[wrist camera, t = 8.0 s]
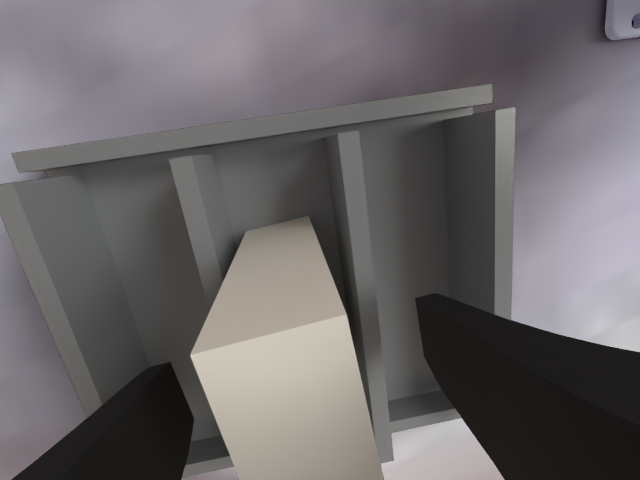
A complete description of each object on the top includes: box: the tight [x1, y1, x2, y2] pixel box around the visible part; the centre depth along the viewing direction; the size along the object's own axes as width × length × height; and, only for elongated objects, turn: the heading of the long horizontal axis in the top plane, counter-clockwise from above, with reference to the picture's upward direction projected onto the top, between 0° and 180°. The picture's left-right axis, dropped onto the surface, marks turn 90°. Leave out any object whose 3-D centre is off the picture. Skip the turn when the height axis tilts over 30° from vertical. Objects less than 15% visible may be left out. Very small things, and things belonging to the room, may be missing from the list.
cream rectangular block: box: [190, 216, 384, 480], centre depth 10 cm, size 2×6×8 cm, turn 13°
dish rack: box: [0, 84, 516, 477], centre depth 12 cm, size 16×14×4 cm
